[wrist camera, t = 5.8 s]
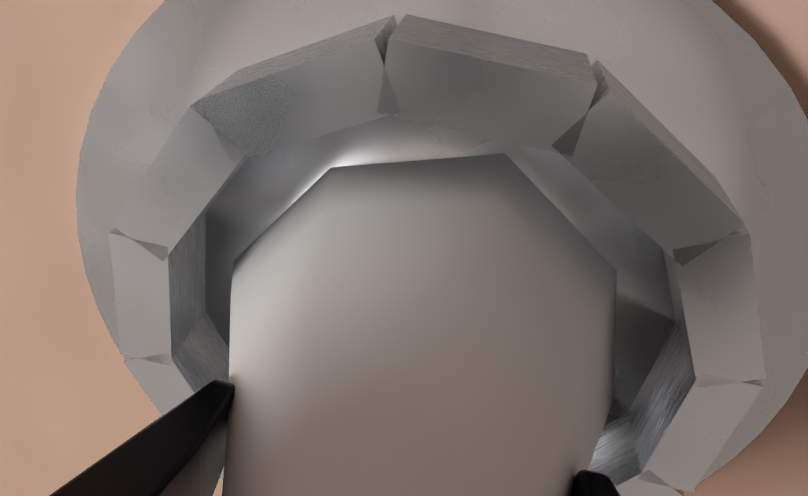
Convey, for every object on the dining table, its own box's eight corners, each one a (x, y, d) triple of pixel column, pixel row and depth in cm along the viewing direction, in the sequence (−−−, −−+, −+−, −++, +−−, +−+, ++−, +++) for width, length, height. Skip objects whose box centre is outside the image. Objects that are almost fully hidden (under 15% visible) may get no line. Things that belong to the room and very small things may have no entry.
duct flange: (643, 581, 16) (657, 661, 14) (115, 450, 17) (72, 514, 15) (1036, 18, 8) (1157, 56, 7) (42, -193, 9) (-61, -203, 7)
